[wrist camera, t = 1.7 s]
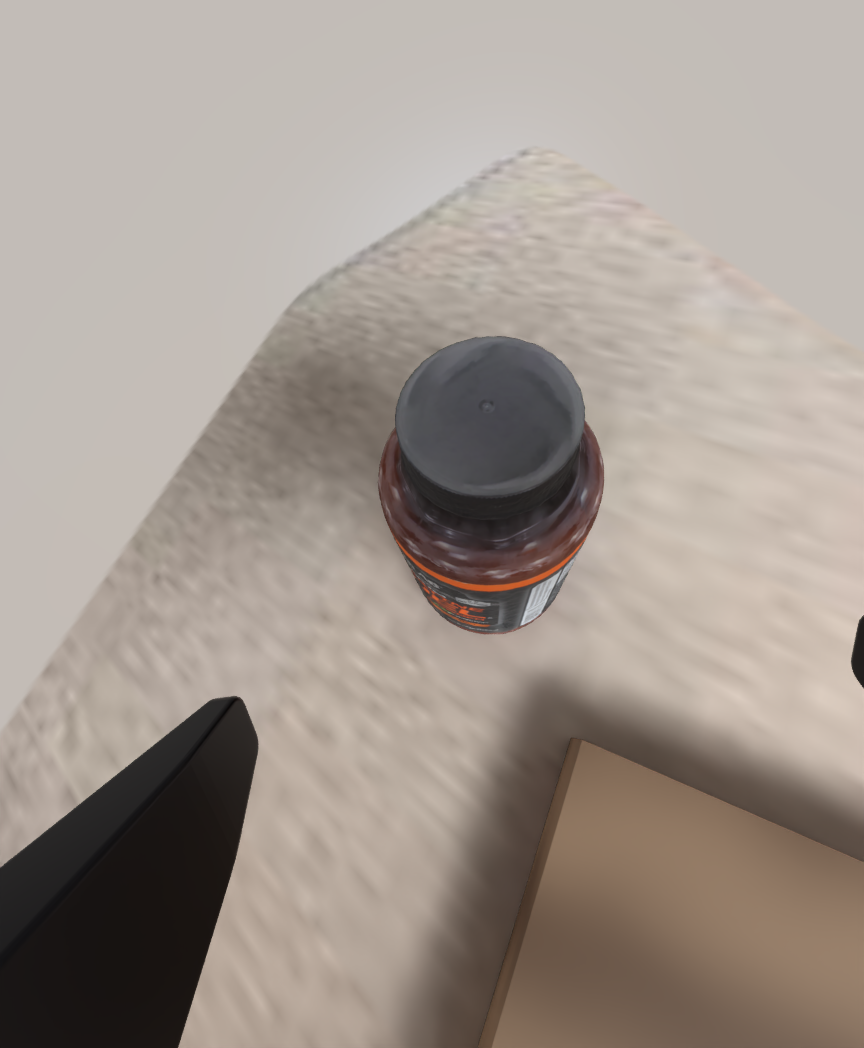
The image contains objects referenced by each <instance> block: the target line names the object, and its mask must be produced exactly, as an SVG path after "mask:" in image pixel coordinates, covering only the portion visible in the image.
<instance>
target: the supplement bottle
mask: <svg viewBox="0 0 864 1048" xmlns="http://www.w3.org/2000/svg"><path fill="white" fill-rule="evenodd" d="M603 487H604V465H603V459H602V455H601V451H600V448H599V446H598V443H597V440H596V437H595V435H594V433H593V431H592V430H591V428H590V427H589V425H588V424H587V422H586V421H585V406H584V403H583V398H582V393H581V390H580V388H579V386H578V384H577V382H576V381H575V379H574V377H573V375H572V373H571V372H570V371H569V370H568V369H567V367H566V366H565V365H564V364H563V362H562V361H560V360H559V359H558V358H557V357H555V356H554V355H553V354H552V353H550V352H548V351H546V350H545V349H543V348H542V347H540V346H538V345H536V344H533V343H528V342H525V341H523V340H520V339H516V338H509V337H502V336H496V337H489V336H487V337H482V338H477V337H475V338H472V339H468V340H465V341H461V342H457V343H455V344H453V345H450V346H447V347H445V348H443V349H441V350H439V351H438V352H436V353H435V354H433V355H432V356H430V357H429V358H428V359H426V360H425V361H423V362H422V363H421V365H420V366H419V367H418V368H417V369H416V370H415V371H414V372H413V374H411V376H410V377H409V379H408V380H407V381H406V383H405V386H404V387H403V389H402V391H401V393H400V397H399V399H398V404H397V407H396V415H395V428H394V430H393V431H392V433H391V434H390V437H389V438H388V440H387V443H386V445H385V448H384V451H383V454H382V458H381V462H380V467H379V479H378V488H379V495H380V500H381V505H382V508H383V512H384V516H385V518H386V521H387V524H388V526H389V528H390V530H391V532H392V534H393V536H394V539H395V541H396V542H397V544H398V546H399V548H400V550H401V552H402V554H403V555H404V557H405V560H406V562H407V563H408V565H409V567H410V568H411V570H412V572H413V575H414V576H415V579H416V581H417V583H418V584H419V586H420V588H421V590H422V592H423V594H424V595H425V597H426V598H427V600H428V602H429V603H430V604H431V605H432V606H433V608H434V609H435V611H437V612H438V613H439V614H440V615H441V616H442V617H443V618H445V619H446V620H447V621H449V622H450V623H452V624H454V625H456V626H458V627H460V628H462V629H465V630H468V631H471V632H475V633H481V634H504V633H508V632H512V631H515V630H517V629H520V628H522V627H524V626H526V625H528V624H530V623H531V622H533V621H534V620H535V619H537V618H538V617H540V616H541V614H543V613H544V612H545V611H546V609H547V608H548V607H549V606H550V605H551V603H552V602H553V600H554V599H555V597H556V595H557V594H558V592H559V590H560V588H561V586H562V584H563V582H564V580H565V578H566V576H567V574H568V572H569V570H570V568H571V566H572V564H573V562H574V560H575V558H576V556H577V555H578V553H579V551H580V549H581V547H582V545H583V543H584V541H585V539H586V537H587V535H588V533H589V531H590V530H591V528H592V526H593V523H594V521H595V519H596V516H597V513H598V510H599V506H600V503H601V499H602V494H603Z"/></svg>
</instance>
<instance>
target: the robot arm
mask: <svg viewBox="0 0 864 1048" xmlns="http://www.w3.org/2000/svg"><path fill="white" fill-rule="evenodd" d="M851 666H852V670H853V673H854V675H855V677H856V678H857V680H858V681H859V683H860V684H861V685H862V687H863V688H864V615H863V616H862V618H861V619H860V620H859V623H858V627H857V632H856V637H855V642H854V647H853V652H852V658H851ZM257 755H258V737H257V734H256V731H255V729H254V726H253V724H252V721H251V719H250V716H249V714H248V711H247V708H246V706H245V704H244V702H243V700H242V699H241V698H240V697H237V696H231V697H223V698H216V699H212V700H210V701H209V702H207V703H206V704H205V705H204V706H202V707H201V708H200V709H199V710H197V711H196V712H195V713H194V714H192V715H191V716H190V717H189V718H187V719H186V720H185V721H184V722H182V723H181V724H180V725H179V726H177V727H176V728H175V729H174V730H172V731H171V732H170V733H169V734H167V735H166V736H165V737H164V738H162V739H161V740H160V741H158V742H157V743H156V744H155V745H153V746H152V747H151V748H150V749H148V750H147V751H146V752H145V753H143V754H142V755H141V756H140V757H138V758H137V759H136V760H135V761H133V762H132V763H131V764H130V765H128V766H127V767H126V768H125V769H123V770H122V771H121V772H120V773H118V774H117V775H116V776H115V777H113V778H112V779H111V780H110V781H108V782H107V783H106V784H105V785H103V786H102V787H101V788H100V789H98V790H97V791H96V792H95V793H93V794H92V795H91V796H89V797H88V798H87V799H86V800H84V801H83V802H82V803H81V804H79V805H78V806H77V807H76V808H74V809H73V810H72V811H71V812H69V813H68V814H67V815H66V816H64V817H63V818H62V819H61V820H59V821H58V822H57V823H56V824H54V825H53V826H52V827H51V828H49V829H48V830H47V831H46V832H44V833H43V834H42V835H41V836H39V837H38V838H37V839H36V840H34V841H33V842H32V843H31V844H29V845H28V846H27V847H25V848H24V849H23V850H22V851H20V852H19V853H18V854H17V855H15V856H14V857H13V858H12V859H10V860H9V861H8V862H7V863H5V864H4V865H3V866H2V867H0V1048H178V1047H179V1043H180V1040H181V1037H182V1033H183V1030H184V1027H185V1024H186V1020H187V1017H188V1014H189V1011H190V1007H191V1004H192V1001H193V998H194V994H195V991H196V988H197V985H198V981H199V978H200V975H201V971H202V968H203V965H204V962H205V958H206V955H207V952H208V949H209V945H210V942H211V939H212V936H213V932H214V929H215V926H216V923H217V919H218V916H219V913H220V909H221V906H222V903H223V900H224V896H225V893H226V890H227V887H228V883H229V880H230V877H231V873H232V870H233V866H234V863H235V859H236V855H237V851H238V847H239V842H240V838H241V833H242V828H243V823H244V818H245V813H246V808H247V803H248V799H249V794H250V789H251V784H252V779H253V774H254V769H255V764H256V759H257Z"/></svg>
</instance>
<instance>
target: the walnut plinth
mask: <svg viewBox="0 0 864 1048" xmlns="http://www.w3.org/2000/svg"><path fill="white" fill-rule="evenodd" d="M478 1048H864V862H863V861H860V860H858V859H856V858H853V857H851V856H849V855H847V854H844V853H842V852H840V851H837V850H835V849H833V848H830V847H828V846H826V845H824V844H821V843H819V842H817V841H814V840H812V839H810V838H807V837H805V836H803V835H801V834H798V833H796V832H794V831H791V830H789V829H787V828H784V827H782V826H780V825H778V824H775V823H773V822H771V821H768V820H766V819H764V818H761V817H759V816H757V815H754V814H752V813H750V812H748V811H745V810H743V809H741V808H738V807H736V806H734V805H731V804H729V803H727V802H725V801H722V800H720V799H718V798H715V797H713V796H711V795H708V794H706V793H704V792H702V791H699V790H697V789H695V788H692V787H690V786H688V785H685V784H683V783H681V782H679V781H676V780H674V779H672V778H669V777H667V776H665V775H662V774H660V773H658V772H656V771H653V770H651V769H649V768H646V767H644V766H642V765H639V764H637V763H635V762H633V761H630V760H628V759H626V758H623V757H621V756H619V755H616V754H614V753H612V752H610V751H607V750H605V749H603V748H600V747H598V746H596V745H593V744H591V743H589V742H587V741H584V740H581V739H575V738H571V740H570V743H569V747H568V750H567V753H566V756H565V760H564V763H563V766H562V770H561V773H560V776H559V780H558V783H557V786H556V790H555V793H554V796H553V799H552V803H551V806H550V809H549V813H548V816H547V819H546V823H545V826H544V829H543V833H542V836H541V839H540V843H539V846H538V849H537V852H536V856H535V859H534V862H533V866H532V869H531V872H530V876H529V879H528V882H527V886H526V889H525V892H524V895H523V899H522V902H521V905H520V909H519V912H518V915H517V919H516V922H515V925H514V929H513V932H512V935H511V938H510V942H509V945H508V948H507V952H506V955H505V958H504V962H503V965H502V968H501V972H500V975H499V978H498V981H497V985H496V988H495V991H494V995H493V998H492V1001H491V1005H490V1008H489V1011H488V1015H487V1018H486V1021H485V1024H484V1028H483V1031H482V1034H481V1038H480V1041H479V1044H478Z"/></svg>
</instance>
